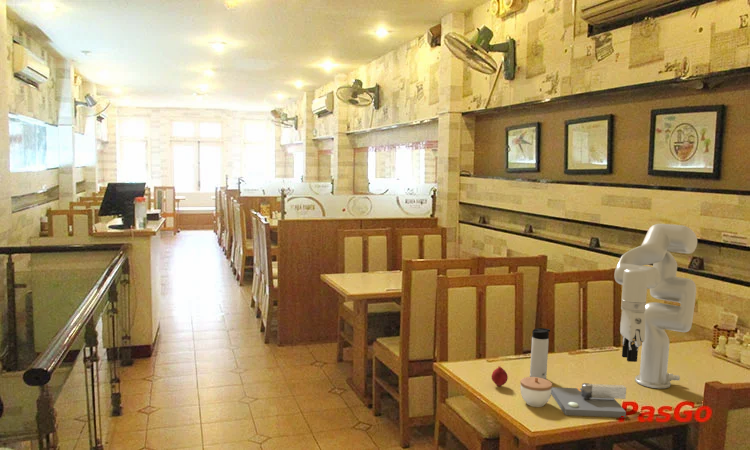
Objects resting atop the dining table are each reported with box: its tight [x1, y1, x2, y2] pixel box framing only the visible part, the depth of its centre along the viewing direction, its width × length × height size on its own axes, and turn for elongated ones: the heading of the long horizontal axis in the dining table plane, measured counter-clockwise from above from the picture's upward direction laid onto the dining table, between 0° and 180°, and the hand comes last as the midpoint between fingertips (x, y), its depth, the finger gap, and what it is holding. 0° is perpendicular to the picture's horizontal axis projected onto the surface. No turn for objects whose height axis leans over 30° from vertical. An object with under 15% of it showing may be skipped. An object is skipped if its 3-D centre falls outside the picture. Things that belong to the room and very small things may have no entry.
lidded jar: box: [520, 376, 553, 408], centre depth 213 cm, size 11×11×9 cm
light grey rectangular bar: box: [581, 382, 627, 400], centre depth 213 cm, size 15×4×5 cm, turn 88°
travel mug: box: [529, 327, 551, 380], centre depth 237 cm, size 6×7×20 cm
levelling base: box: [551, 386, 627, 418], centre depth 214 cm, size 20×20×3 cm
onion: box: [491, 365, 509, 387], centre depth 228 cm, size 6×6×8 cm
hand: (629, 358), depth 205 cm, fingers open, 3 cm apart
